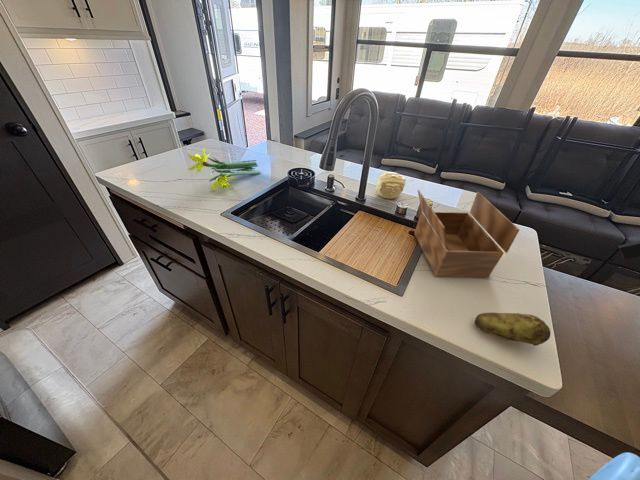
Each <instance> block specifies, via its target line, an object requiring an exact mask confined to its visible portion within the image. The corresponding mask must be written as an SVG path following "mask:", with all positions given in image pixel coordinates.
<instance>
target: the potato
mask: <svg viewBox="0 0 640 480" xmlns="http://www.w3.org/2000/svg"><path fill="white" fill-rule="evenodd" d="M474 325H475V326H476V328H477V329H479V331H481V332H483V333H485V334H491V335H494V336H495V337H499V338H500V339H504V340H508V341H512V342H517V343H518V342H519V343H523V344H524V343H525V344H529V345H532V346H536V347H537V346H539V345H542V344H544V343H546V342H548V341H549V339H550V338H551V329H550V327H549V326H548V325H547V323H546V322H545V321H544V320H543V319H541V318H540V317H538V316H536V315H534V314H528V313H519V312H491V311H489V312H481V313H479V314H477V315H476V317H475V318H474Z"/></svg>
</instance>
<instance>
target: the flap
mask: <svg viewBox="0 0 640 480" xmlns="http://www.w3.org/2000/svg"><path fill="white" fill-rule="evenodd" d="M417 195H418V199H419V204H420V205H419V206H420V210H421V212H422V211H423V213H424V215H425V216H426V218H427V219H428V221H429V223H430V224H431V226H432V227H433V229H434V231H435V232H436V234H437V235H438V237H439V238H440V240H441V242H442V243H443V245H444V246H445V248H446V250H447V249H448V246H447V239H446V232H445V227H444V226H443V224H442V223H441V221H440V220H439V218H438V217H437V215H436V214H435V213H434V212H435V210H433V208H432V207H431V205H430V204H429V202H428V201H427V199H426V198H425V197H424V195H423V194H422V192H421V190H420V189H418V190H417Z"/></svg>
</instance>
